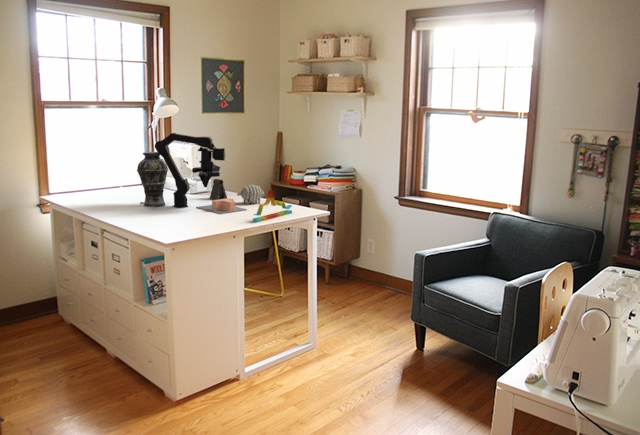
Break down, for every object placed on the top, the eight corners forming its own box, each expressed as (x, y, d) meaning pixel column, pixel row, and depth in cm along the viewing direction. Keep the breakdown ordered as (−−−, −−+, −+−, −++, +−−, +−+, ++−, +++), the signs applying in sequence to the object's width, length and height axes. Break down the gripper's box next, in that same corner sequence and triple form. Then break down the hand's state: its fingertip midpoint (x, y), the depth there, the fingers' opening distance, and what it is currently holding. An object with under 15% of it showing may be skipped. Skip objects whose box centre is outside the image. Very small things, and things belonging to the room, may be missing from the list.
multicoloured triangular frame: (287, 213, 331) (287, 186, 328) (291, 213, 329) (292, 186, 326) (252, 222, 305) (252, 193, 302) (257, 223, 304) (257, 193, 301)
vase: (132, 206, 338) (129, 152, 332) (153, 201, 353) (151, 150, 347) (154, 208, 331) (151, 154, 325) (175, 204, 346) (173, 152, 340)
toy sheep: (267, 203, 355) (267, 185, 353) (241, 206, 346) (241, 187, 344) (259, 200, 364) (259, 182, 362) (234, 203, 355) (233, 184, 352)
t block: (223, 212, 325) (223, 203, 324) (212, 209, 332) (212, 200, 331) (241, 209, 333) (241, 200, 332) (229, 206, 340) (229, 198, 339)
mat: (220, 214, 322) (220, 213, 322) (196, 207, 337) (196, 206, 337) (247, 210, 334) (247, 209, 334) (222, 204, 350) (222, 203, 350)
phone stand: (215, 200, 362) (215, 180, 360) (209, 199, 366) (209, 179, 364) (227, 198, 369) (227, 179, 366) (221, 197, 373) (221, 178, 370)
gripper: (228, 161, 334) (227, 188, 337) (208, 157, 346) (207, 183, 349) (211, 161, 326) (210, 190, 329) (191, 157, 338) (191, 185, 341)
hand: (205, 187), depth 337 cm, fingers closed
